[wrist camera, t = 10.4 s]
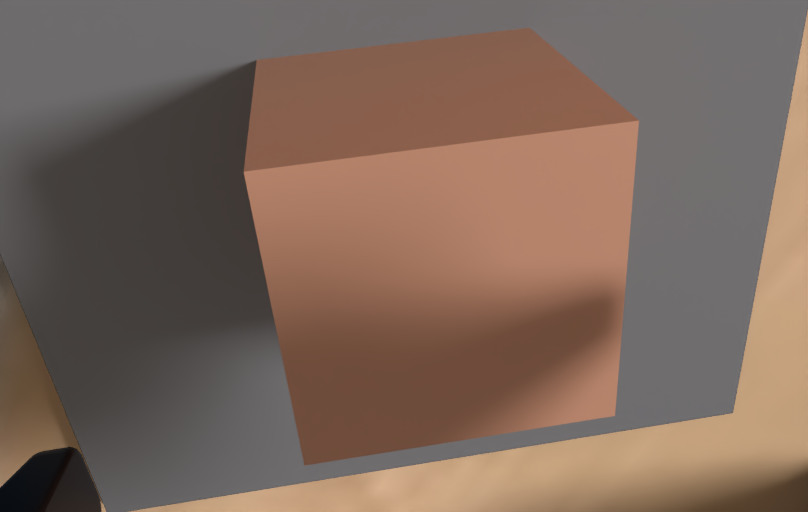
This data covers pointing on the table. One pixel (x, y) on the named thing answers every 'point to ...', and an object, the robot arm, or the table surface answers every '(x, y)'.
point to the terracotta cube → (441, 239)
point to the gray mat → (237, 240)
